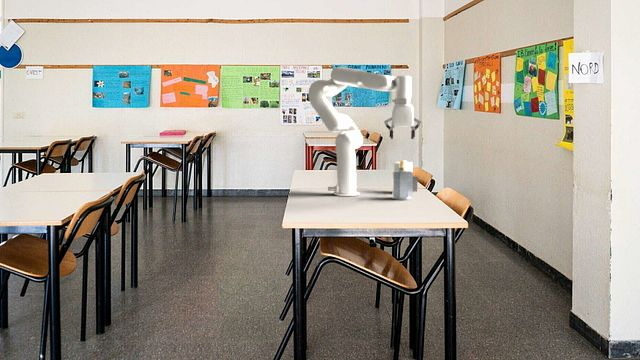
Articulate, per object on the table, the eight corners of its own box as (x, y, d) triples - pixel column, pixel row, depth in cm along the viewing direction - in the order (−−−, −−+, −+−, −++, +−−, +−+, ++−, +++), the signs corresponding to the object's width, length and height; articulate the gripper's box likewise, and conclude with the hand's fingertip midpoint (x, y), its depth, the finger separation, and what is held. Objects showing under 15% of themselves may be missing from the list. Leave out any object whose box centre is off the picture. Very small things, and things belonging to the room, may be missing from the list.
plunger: (396, 194, 296) (397, 161, 294) (395, 193, 302) (395, 160, 300) (409, 194, 296) (410, 161, 294) (407, 193, 302) (408, 160, 300)
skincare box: (405, 194, 314) (405, 162, 312) (392, 193, 318) (393, 162, 316) (413, 192, 321) (413, 161, 319) (401, 191, 325) (401, 160, 323)
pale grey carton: (393, 200, 295) (394, 172, 293) (391, 197, 304) (391, 170, 303) (418, 200, 295) (418, 172, 293) (415, 197, 304) (415, 170, 303)
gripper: (385, 102, 291) (384, 139, 293) (422, 102, 291) (421, 139, 293) (383, 102, 298) (383, 138, 301) (420, 102, 298) (419, 138, 300)
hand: (402, 138), depth 297 cm, fingers open, 9 cm apart
